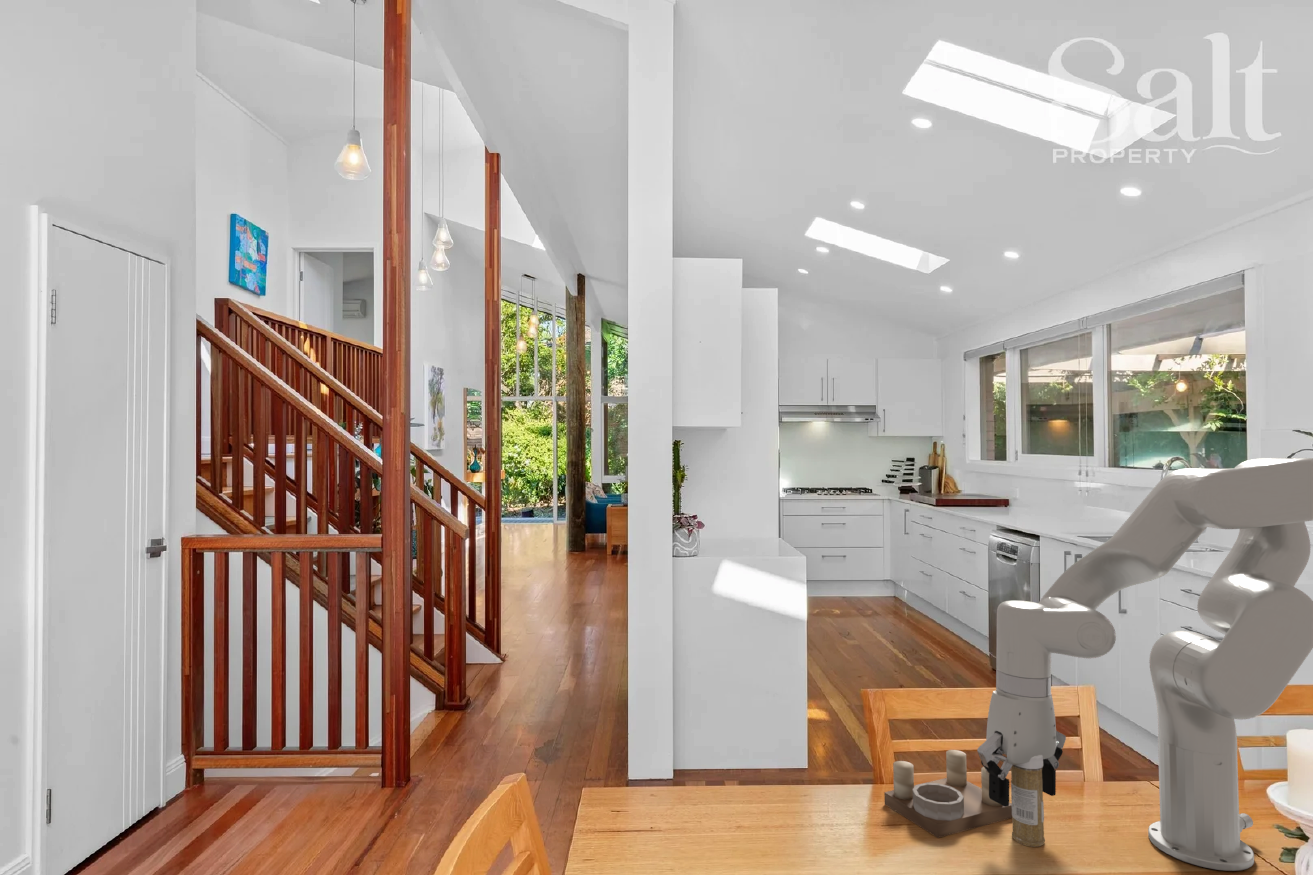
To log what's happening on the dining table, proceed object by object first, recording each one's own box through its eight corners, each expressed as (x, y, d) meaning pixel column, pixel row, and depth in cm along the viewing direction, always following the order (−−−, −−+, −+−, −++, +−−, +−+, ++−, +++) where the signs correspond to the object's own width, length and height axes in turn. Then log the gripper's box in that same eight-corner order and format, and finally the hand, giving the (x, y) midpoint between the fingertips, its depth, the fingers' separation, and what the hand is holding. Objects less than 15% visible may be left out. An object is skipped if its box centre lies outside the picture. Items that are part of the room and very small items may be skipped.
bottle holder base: (956, 786, 130) (956, 746, 130) (1013, 817, 118) (1012, 773, 119) (884, 804, 123) (883, 762, 123) (937, 837, 112) (937, 791, 112)
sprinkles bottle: (1051, 842, 111) (1048, 752, 111) (1034, 851, 108) (1032, 758, 109) (1021, 829, 115) (1019, 742, 115) (1005, 837, 112) (1003, 748, 112)
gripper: (1042, 671, 119) (1041, 778, 119) (961, 682, 112) (960, 795, 112) (1085, 685, 112) (1084, 798, 112) (1001, 697, 105) (1001, 818, 105)
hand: (1022, 796), depth 112 cm, fingers open, 9 cm apart
